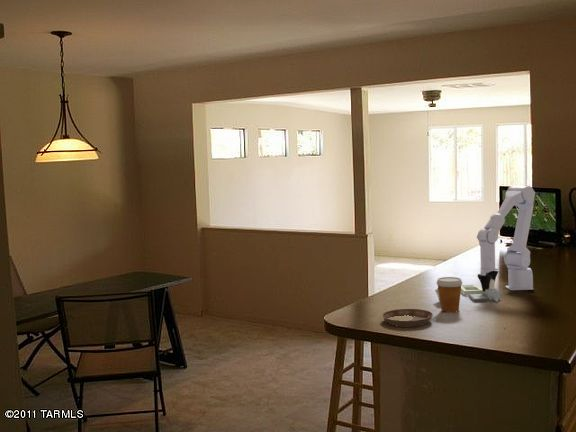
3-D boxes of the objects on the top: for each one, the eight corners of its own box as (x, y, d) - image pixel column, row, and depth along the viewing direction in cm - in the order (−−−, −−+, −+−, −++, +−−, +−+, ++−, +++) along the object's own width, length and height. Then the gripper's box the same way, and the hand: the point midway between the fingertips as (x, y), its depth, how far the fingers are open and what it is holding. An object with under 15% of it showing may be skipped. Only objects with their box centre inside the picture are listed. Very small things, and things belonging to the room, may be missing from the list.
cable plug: (496, 297, 244) (496, 289, 244) (503, 301, 236) (502, 293, 236) (485, 297, 245) (485, 289, 244) (491, 302, 236) (491, 293, 236)
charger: (492, 292, 253) (491, 277, 253) (494, 294, 249) (494, 279, 249) (482, 293, 254) (482, 277, 253) (485, 295, 250) (484, 279, 249)
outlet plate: (476, 289, 262) (476, 284, 261) (483, 295, 250) (483, 290, 250) (457, 289, 262) (457, 285, 262) (464, 295, 250) (464, 290, 250)
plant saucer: (372, 324, 214) (371, 315, 214) (401, 314, 226) (401, 306, 226) (414, 332, 201) (413, 323, 201) (442, 320, 214) (442, 312, 213)
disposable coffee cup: (445, 314, 221) (444, 282, 220) (432, 309, 230) (431, 278, 229) (468, 311, 224) (467, 280, 223) (454, 306, 233) (453, 275, 232)
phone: (483, 296, 247) (483, 293, 247) (489, 301, 238) (489, 298, 238) (468, 297, 247) (468, 294, 247) (474, 302, 238) (474, 299, 238)
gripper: (492, 260, 242) (493, 293, 243) (502, 255, 254) (502, 287, 255) (475, 259, 246) (475, 292, 247) (485, 254, 258) (485, 285, 259)
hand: (488, 289), depth 251 cm, fingers open, 7 cm apart
